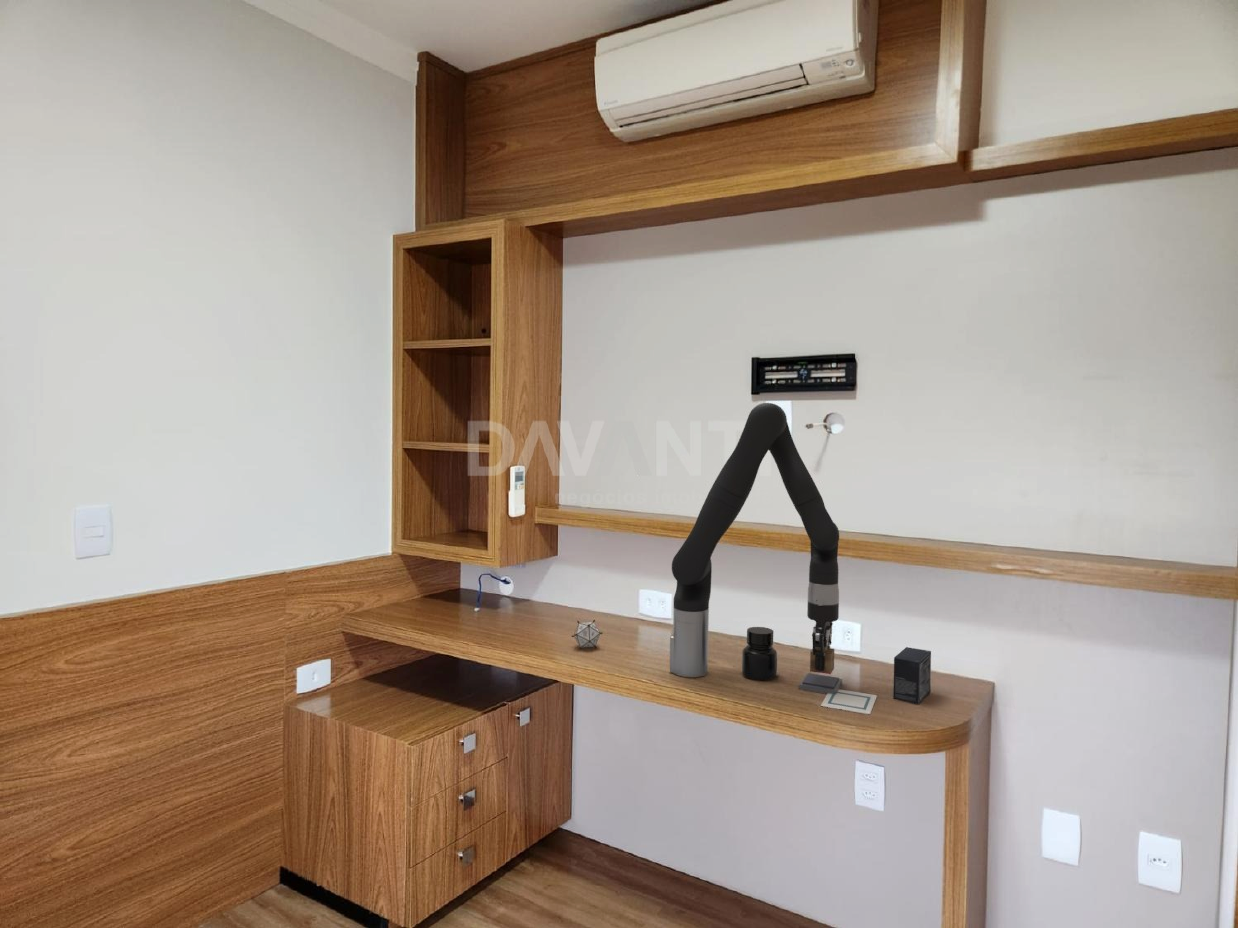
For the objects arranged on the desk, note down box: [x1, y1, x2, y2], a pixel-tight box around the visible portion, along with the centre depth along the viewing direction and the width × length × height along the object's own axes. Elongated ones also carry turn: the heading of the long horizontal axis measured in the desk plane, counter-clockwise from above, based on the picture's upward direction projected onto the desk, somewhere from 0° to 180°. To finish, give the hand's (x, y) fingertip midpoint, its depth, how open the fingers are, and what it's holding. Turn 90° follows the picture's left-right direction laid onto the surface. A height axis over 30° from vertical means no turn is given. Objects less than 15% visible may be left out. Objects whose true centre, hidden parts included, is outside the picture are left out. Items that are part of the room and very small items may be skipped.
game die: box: [571, 619, 604, 651], centre depth 218 cm, size 9×8×10 cm
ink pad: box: [798, 672, 843, 695], centre depth 188 cm, size 9×9×2 cm
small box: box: [892, 646, 932, 705], centre depth 183 cm, size 11×6×10 cm, turn 144°
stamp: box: [809, 642, 835, 675], centre depth 188 cm, size 5×5×7 cm
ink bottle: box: [741, 626, 778, 681], centre depth 196 cm, size 10×9×12 cm
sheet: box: [820, 688, 878, 716], centre depth 179 cm, size 11×13×1 cm
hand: (821, 666), depth 188 cm, fingers closed on stamp, 5 cm apart
